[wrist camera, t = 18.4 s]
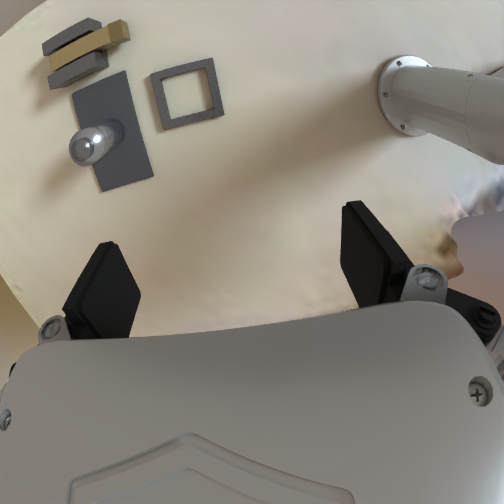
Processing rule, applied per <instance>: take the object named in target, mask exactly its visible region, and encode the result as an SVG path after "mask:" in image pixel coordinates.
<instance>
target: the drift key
mask: <svg viewBox="0 0 504 504" xmlns="http://www.w3.org/2000/svg"><path fill="white" fill-rule="evenodd" d="M129 40H130V36H129V30H128V25H127V23H126V22H124V21H122V20H121V19H120V20H117V21H115V22H112V23H110V24H108V26H105V27H103V28H101V29H99V30H97V31H94V32H92V33H90V34H88V35H86V36H84V37H82V38H80V39H78V40H76V41H74V42H73V43H71V44H69V45H67V46H65V47H64V48H62V49H60V50H58V51H57V52H55V53H53V54H52V55H50V60H51V65H52V71H58V70H60V69H62V68H63V67H65V66H67V65H69V64H71V63H73V62H74V61H76V60H78V59H80V58H82V57H84V56H86V55H88V54H90V53H93V52H100V51H102V50H105V49H107V48H109V47H112V46H114V45H117V44H118V45H119V44H121V43H124V42H127V41H129Z"/></svg>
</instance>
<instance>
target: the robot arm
mask: <svg viewBox="0 0 504 504" xmlns="http://www.w3.org/2000/svg"><path fill="white" fill-rule="evenodd" d="M383 93H384V95H383ZM378 99H379V104H380V107H381V109H382V112H383V114H384V116H385V117H386V119H387V120H388V122H389V123H390V124H391V125H392V126H393V127H394V128H395V129H397V130H398V131H400V132H402V133H404V134H407V135H410V136H422V135H425V134H427V133H431V134H433V135H436V136H438V137H440V138H443V139H445V140H447V141H450V142H452V143H454V144H456V145H458V146H460V147H462V148H464V149H466V150H468V151H470V152H472V153H474V154H476V155H478V156H480V157H482V158H484V159H486V160H488V161H490V162H492V163H495V164H499V165H504V79H502V78H498V77H494V76H489V75H484V74H479V73H474V72H468V71H462V70H455V69H447V68H439V67H432V66H431V65H430V64H429V63H428V62H426V61H425V60H423V59H421V58H419V57H416V56H412V55H403V56H398V57H395V58H393V59H392V60H390V61H389V62H388V63H387V64H386V65H385V66H384V68H383V70H382V72H381V74H380V77H379V81H378ZM340 264H341V268H342V270H343V273H344V275H345V277H346V279H347V281H348V283H349V286H350V288H351V290H352V292H353V294H354V297H355V299H356V301H357V303H358V306H359V308H357V309H351V310H346V311H341V312H336V313H331V314H325V315H320V316H314V317H308V318H302V319H296V320H290V321H284V322H277V323H270V324H264V325H256V326H249V327H241V328H233V329H225V330H216V331H207V332H197V333H187V334H175V335H163V336H149V337H132V338H129V335H130V331H131V328H132V324H133V321H134V317H135V314H136V311H137V308H138V305H139V301H140V298H141V293H140V290H139V288H138V286H137V284H136V282H135V280H134V278H133V276H132V274H131V272H130V270H129V268H128V266H127V264H126V261H125V259H124V257H123V255H122V253H121V251H120V249H119V246H118V245H117V244H114V242H112V241H109V242H105V243H100V244H99V245H98V247H97V248H96V250H95V252H94V253H93V255H92V256H91V258H90V260H89V261H88V263H87V265H86V266H85V268H84V270H83V271H82V273H81V275H80V277H79V278H78V280H77V282H76V284H75V285H74V287H73V289H72V291H71V293H70V295H69V296H68V298H67V300H66V302H65V304H64V306H63V308H62V310H63V311H64V313H65V314H66V316H65V318H64V317H62V316H61V315H56V316H53V317H51V318H49V319H48V320H47V321H45V323H44V324H43V325H42V326H41V328H40V330H39V333H38V339H39V345H37V346H36V347H33V348H31V349H30V350H28V351H27V352H25V353H24V354H22V355H21V357H20V358H19V360H18V361H17V362H16V363H15V364H13V365H12V367H11V369H10V375H9V379H8V382H7V383H6V384H5V385H4V387H3V388H2V390H1V391H0V504H504V326H503V325H502V324H501V318H500V315H499V313H498V311H497V310H496V309H495V308H494V307H493V306H492V305H490V304H488V303H486V302H483V301H481V300H478V299H476V298H473V297H471V296H468V295H466V294H463V293H460V292H458V291H455V290H453V289H450V288H447V287H448V279H447V277H446V275H445V274H444V273H443V272H442V271H441V270H440V269H438V268H437V267H434V266H432V265H427V264H420V265H416V266H414V265H413V263H412V262H411V261H410V259H409V258H408V257H407V255H406V254H405V253H404V251H403V250H402V249H401V247H400V246H399V245H398V243H397V242H396V241H395V240H394V238H393V237H392V236H391V235H390V233H389V232H388V231H387V230H386V229H385V228H384V227H383V226H382V225H381V223H380V222H379V221H378V220H377V218H376V217H375V216H374V215H373V214H372V213H371V211H370V210H369V209H368V208H367V207H366V206H365V204H364V203H363V202H362V201H361V200H359V201H350V202H347V203H346V206H343V207H342V229H341V254H340Z"/></svg>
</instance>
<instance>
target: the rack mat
mask: <svg viewBox="0 0 504 504" xmlns="http://www.w3.org/2000/svg"><path fill="white" fill-rule="evenodd" d="M72 98H73V102H74V106H75V110H76V113H77V117H78V121H79V124H80V128H81V130H83V129H85V128H87V127H90V126H92V125H94V124H97V123H99V122H102V121H104V120H106V119H110V118H113V119H117V120H119V121H120V122H121V123H122V125H123V126H124V130H125V135H124V139H123V141H122V142H121V143H120V144H119V145H118V146H116V147H115V148H114V149H112V150H111V151H109V152H108V153H107V154H105V155H104V156H103V157H101V158H100V159H99V160H97V161H96V162H95V163H93V164H92V165H93V168H94V171H95V174H96V176H97V179H98V182H99V185H100V187H101V190H102V192H104V191H107V190H110V189H113V188H116V187H119V186H122V185H126V184H129V183H132V182H136V181H139V180H142V179H146V178H149V177H153V176H154V175H153V172H152V168H151V165H150V162H149V159H148V155H147V152H146V148H145V145H144V141H143V138H142V134H141V131H140V127H139V123H138V120H137V116H136V112H135V108H134V104H133V100H132V96H131V92H130V88H129V84H128V80H127V75H126V71H122V72H119V73H117V74H114V75H112V76H110V77H107V78H105V79H102V80H100V81H98V82H96V83H93V84H91V85H89V86H87V87H85V88H83V89H81V90H79V91H77V92H75V93H73V94H72Z"/></svg>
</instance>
